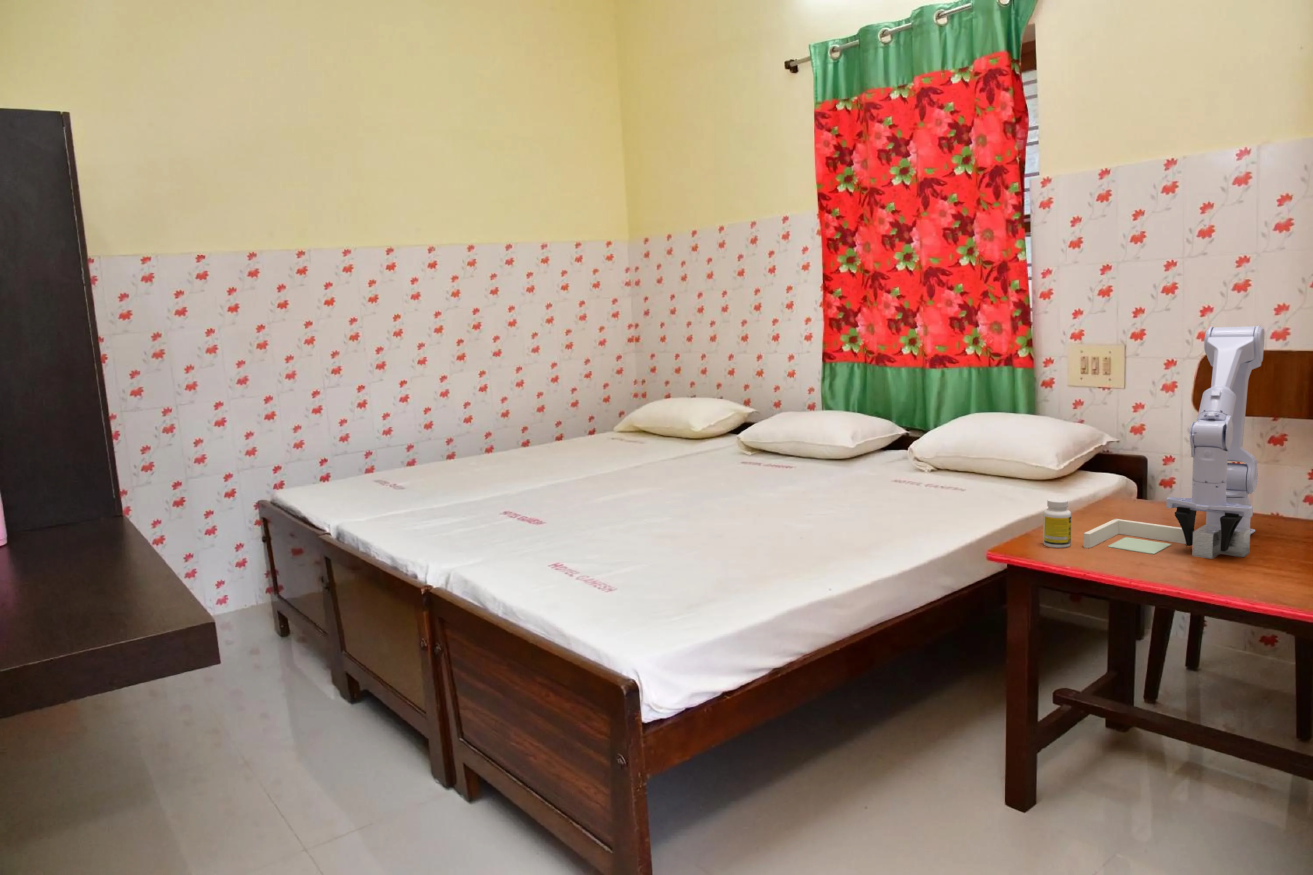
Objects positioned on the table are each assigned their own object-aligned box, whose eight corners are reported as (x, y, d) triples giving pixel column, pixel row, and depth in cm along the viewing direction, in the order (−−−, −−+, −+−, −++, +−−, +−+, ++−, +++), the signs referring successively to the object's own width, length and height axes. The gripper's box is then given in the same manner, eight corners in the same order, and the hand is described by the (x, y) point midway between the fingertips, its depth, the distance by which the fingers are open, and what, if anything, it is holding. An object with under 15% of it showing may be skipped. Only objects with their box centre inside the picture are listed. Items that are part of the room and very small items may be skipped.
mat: (1125, 537, 188) (1125, 537, 188) (1171, 544, 182) (1171, 543, 182) (1107, 546, 183) (1107, 546, 183) (1154, 554, 176) (1154, 553, 176)
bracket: (1206, 547, 179) (1207, 523, 178) (1249, 553, 173) (1250, 528, 172) (1192, 555, 174) (1192, 531, 173) (1235, 562, 168) (1236, 537, 167)
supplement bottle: (1073, 548, 183) (1074, 502, 182) (1046, 548, 184) (1046, 503, 183) (1067, 541, 188) (1067, 497, 187) (1040, 541, 189) (1040, 497, 188)
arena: (1115, 531, 193) (1115, 518, 193) (1193, 543, 182) (1194, 529, 181) (1083, 547, 184) (1083, 533, 183) (1164, 560, 172) (1164, 545, 171)
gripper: (1161, 479, 175) (1159, 545, 177) (1245, 488, 164) (1242, 558, 166) (1174, 473, 179) (1172, 538, 181) (1257, 481, 168) (1254, 550, 170)
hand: (1206, 547), depth 174 cm, fingers open, 5 cm apart
